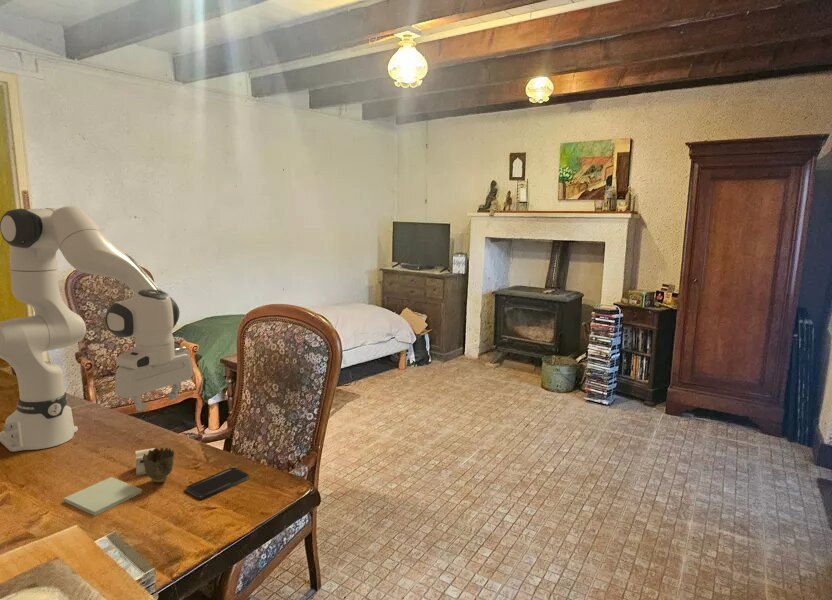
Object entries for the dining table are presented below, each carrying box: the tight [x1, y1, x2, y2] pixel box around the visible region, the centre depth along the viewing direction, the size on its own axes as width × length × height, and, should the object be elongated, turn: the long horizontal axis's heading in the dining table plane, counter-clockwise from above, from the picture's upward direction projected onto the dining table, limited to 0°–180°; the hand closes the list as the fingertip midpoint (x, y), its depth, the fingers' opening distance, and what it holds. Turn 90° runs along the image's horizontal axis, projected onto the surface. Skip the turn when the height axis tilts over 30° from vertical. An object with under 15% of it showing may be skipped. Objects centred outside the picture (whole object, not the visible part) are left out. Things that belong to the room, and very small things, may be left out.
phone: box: [185, 466, 250, 501], centre depth 137 cm, size 8×1×15 cm
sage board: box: [63, 476, 142, 517], centre depth 128 cm, size 12×12×1 cm
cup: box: [143, 447, 175, 485], centre depth 136 cm, size 8×7×8 cm
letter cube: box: [135, 447, 156, 476], centre depth 142 cm, size 5×5×5 cm
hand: (157, 404), depth 133 cm, fingers open, 8 cm apart
